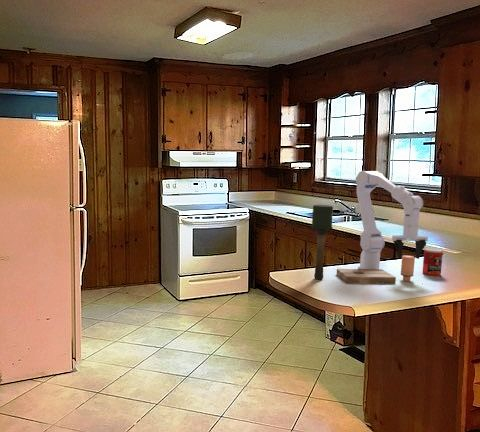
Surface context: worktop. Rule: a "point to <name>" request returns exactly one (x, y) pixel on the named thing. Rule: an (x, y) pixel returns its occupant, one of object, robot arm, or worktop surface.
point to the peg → (407, 267)
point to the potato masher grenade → (321, 233)
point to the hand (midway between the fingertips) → (408, 258)
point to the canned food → (432, 261)
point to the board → (365, 276)
